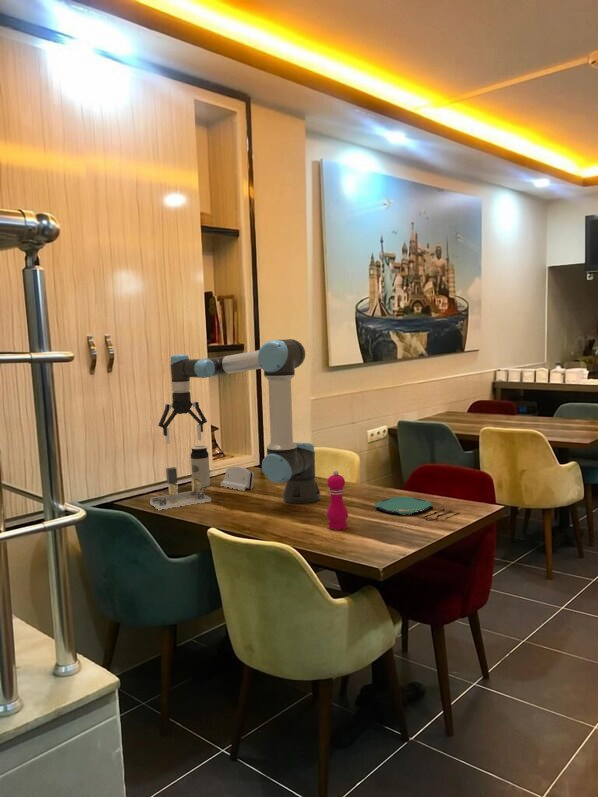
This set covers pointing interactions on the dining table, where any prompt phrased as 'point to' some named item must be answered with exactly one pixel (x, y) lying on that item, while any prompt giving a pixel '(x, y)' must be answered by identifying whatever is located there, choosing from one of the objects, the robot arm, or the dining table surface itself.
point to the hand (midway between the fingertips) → (183, 441)
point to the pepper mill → (336, 502)
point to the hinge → (238, 478)
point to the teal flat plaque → (403, 505)
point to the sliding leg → (172, 480)
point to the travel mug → (200, 464)
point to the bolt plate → (181, 497)
